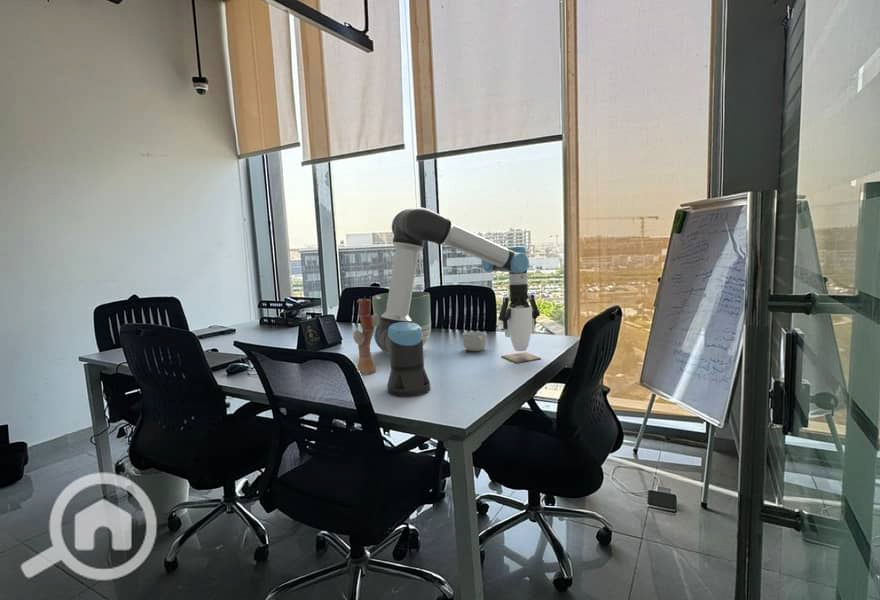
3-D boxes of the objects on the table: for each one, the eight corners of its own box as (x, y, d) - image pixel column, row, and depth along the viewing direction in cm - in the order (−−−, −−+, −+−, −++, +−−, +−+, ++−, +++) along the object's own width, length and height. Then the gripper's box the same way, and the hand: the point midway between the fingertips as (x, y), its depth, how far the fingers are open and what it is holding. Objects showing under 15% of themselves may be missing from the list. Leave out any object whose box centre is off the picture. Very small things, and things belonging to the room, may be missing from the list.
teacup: (461, 348, 228) (461, 331, 227) (484, 346, 229) (483, 330, 228) (466, 355, 214) (465, 337, 213) (490, 353, 215) (489, 335, 214)
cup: (527, 361, 197) (526, 308, 194) (504, 358, 202) (503, 307, 200) (536, 355, 205) (536, 305, 202) (514, 352, 211) (513, 304, 208)
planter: (408, 342, 246) (405, 290, 242) (444, 350, 226) (441, 293, 222) (365, 353, 228) (360, 297, 224) (399, 362, 208) (395, 300, 205)
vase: (356, 375, 191) (350, 301, 187) (355, 371, 198) (349, 299, 194) (383, 372, 193) (377, 298, 189) (381, 368, 200) (375, 296, 196)
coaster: (515, 363, 196) (515, 362, 196) (501, 357, 207) (501, 355, 207) (540, 359, 201) (540, 358, 200) (525, 353, 212) (525, 352, 212)
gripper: (497, 286, 192) (499, 340, 195) (547, 281, 201) (548, 333, 203) (488, 285, 199) (490, 336, 202) (537, 280, 207) (539, 330, 210)
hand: (520, 335), depth 203 cm, fingers open, 11 cm apart
